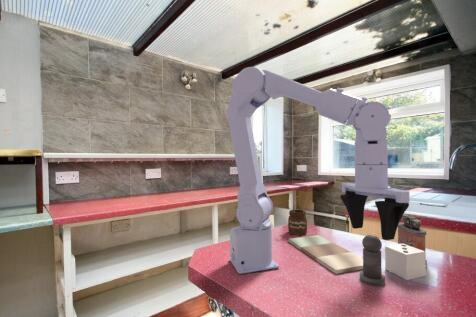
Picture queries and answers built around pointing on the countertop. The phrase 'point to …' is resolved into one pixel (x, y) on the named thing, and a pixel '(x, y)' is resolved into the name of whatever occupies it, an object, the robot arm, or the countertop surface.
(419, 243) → the lighter
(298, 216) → the utensil holder
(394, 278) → the countertop surface
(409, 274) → the die
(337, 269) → the board
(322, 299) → the countertop surface
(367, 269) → the pawn
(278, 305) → the countertop surface
